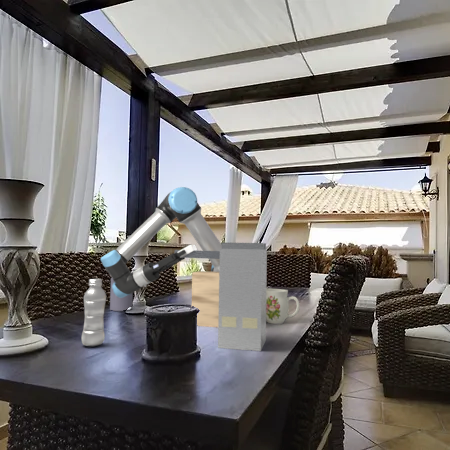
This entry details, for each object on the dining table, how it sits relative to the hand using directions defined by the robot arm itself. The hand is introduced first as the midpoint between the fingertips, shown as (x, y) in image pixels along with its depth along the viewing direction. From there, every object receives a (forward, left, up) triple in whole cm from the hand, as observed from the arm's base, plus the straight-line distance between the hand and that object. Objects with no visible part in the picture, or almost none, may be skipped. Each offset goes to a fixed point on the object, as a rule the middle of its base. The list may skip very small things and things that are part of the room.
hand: (194, 247), depth 153 cm
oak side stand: (0, +10, -30) cm, 32 cm away
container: (-20, -42, -31) cm, 56 cm away
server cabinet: (+27, +25, -30) cm, 48 cm away
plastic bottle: (+42, -18, -31) cm, 55 cm away
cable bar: (0, +4, -4) cm, 6 cm away
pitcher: (-12, +33, -31) cm, 46 cm away
